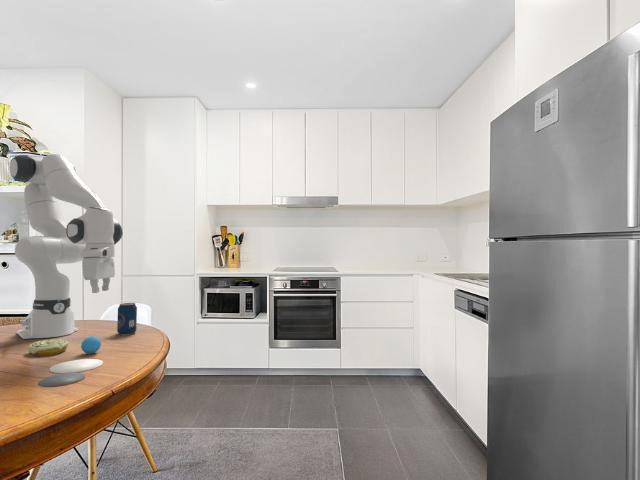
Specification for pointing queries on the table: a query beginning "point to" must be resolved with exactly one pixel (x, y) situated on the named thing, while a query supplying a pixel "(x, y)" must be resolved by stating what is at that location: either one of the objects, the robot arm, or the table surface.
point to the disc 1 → (61, 379)
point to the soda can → (127, 319)
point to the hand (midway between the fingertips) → (100, 291)
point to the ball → (91, 345)
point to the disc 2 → (76, 366)
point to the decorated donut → (48, 347)
